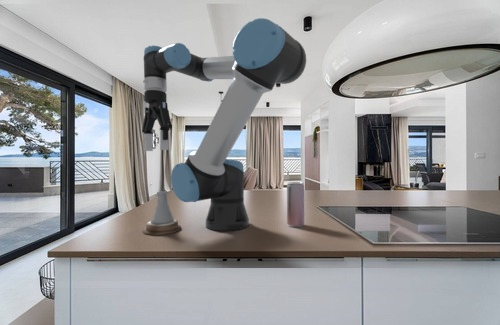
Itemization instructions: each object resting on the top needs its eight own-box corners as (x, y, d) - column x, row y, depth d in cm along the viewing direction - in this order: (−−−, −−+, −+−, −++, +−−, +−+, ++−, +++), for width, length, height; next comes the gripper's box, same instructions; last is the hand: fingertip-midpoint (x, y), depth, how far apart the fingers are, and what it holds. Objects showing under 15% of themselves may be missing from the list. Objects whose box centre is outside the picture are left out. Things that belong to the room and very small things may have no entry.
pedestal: (185, 225, 90) (185, 217, 90) (174, 235, 78) (174, 226, 78) (152, 225, 91) (151, 217, 91) (135, 235, 79) (135, 226, 79)
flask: (166, 225, 80) (166, 193, 80) (146, 224, 82) (146, 192, 82) (178, 219, 87) (177, 190, 87) (159, 218, 89) (158, 190, 89)
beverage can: (287, 223, 92) (286, 181, 92) (303, 223, 92) (303, 182, 92) (287, 227, 87) (286, 183, 86) (305, 227, 86) (304, 183, 86)
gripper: (132, 96, 99) (133, 151, 99) (160, 81, 80) (161, 148, 81) (151, 99, 104) (152, 151, 104) (181, 86, 86) (182, 149, 86)
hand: (156, 150), depth 92 cm, fingers open, 13 cm apart
